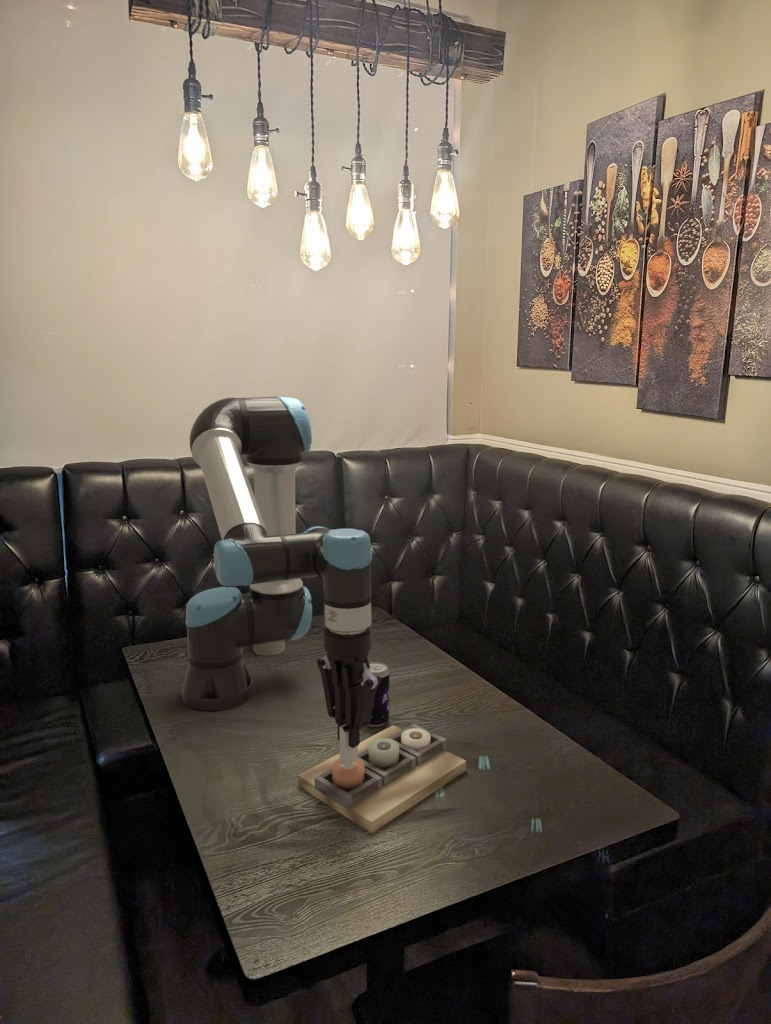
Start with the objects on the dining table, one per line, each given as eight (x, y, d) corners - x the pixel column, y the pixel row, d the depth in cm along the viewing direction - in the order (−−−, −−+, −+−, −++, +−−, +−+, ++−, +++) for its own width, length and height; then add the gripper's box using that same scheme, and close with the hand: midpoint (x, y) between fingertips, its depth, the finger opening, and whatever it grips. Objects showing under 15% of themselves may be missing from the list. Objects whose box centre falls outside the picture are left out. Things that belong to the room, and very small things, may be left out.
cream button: (395, 747, 129) (395, 734, 129) (414, 736, 133) (414, 724, 133) (416, 759, 126) (417, 745, 125) (436, 747, 129) (436, 734, 129)
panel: (295, 786, 121) (295, 765, 120) (394, 733, 139) (395, 714, 138) (369, 834, 109) (369, 812, 108) (467, 769, 127) (468, 749, 126)
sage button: (362, 758, 123) (361, 745, 122) (383, 746, 127) (383, 733, 126) (384, 771, 119) (384, 757, 119) (405, 758, 123) (405, 745, 123)
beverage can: (386, 730, 140) (386, 674, 137) (358, 727, 141) (358, 671, 139) (391, 716, 145) (391, 662, 143) (364, 713, 146) (364, 660, 144)
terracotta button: (325, 778, 117) (325, 764, 116) (349, 765, 121) (349, 752, 120) (347, 792, 113) (347, 778, 113) (371, 778, 117) (371, 764, 117)
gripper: (303, 622, 113) (306, 755, 118) (359, 644, 104) (359, 786, 109) (337, 611, 118) (339, 738, 123) (393, 631, 110) (392, 767, 114)
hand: (348, 761), depth 116 cm, fingers closed
